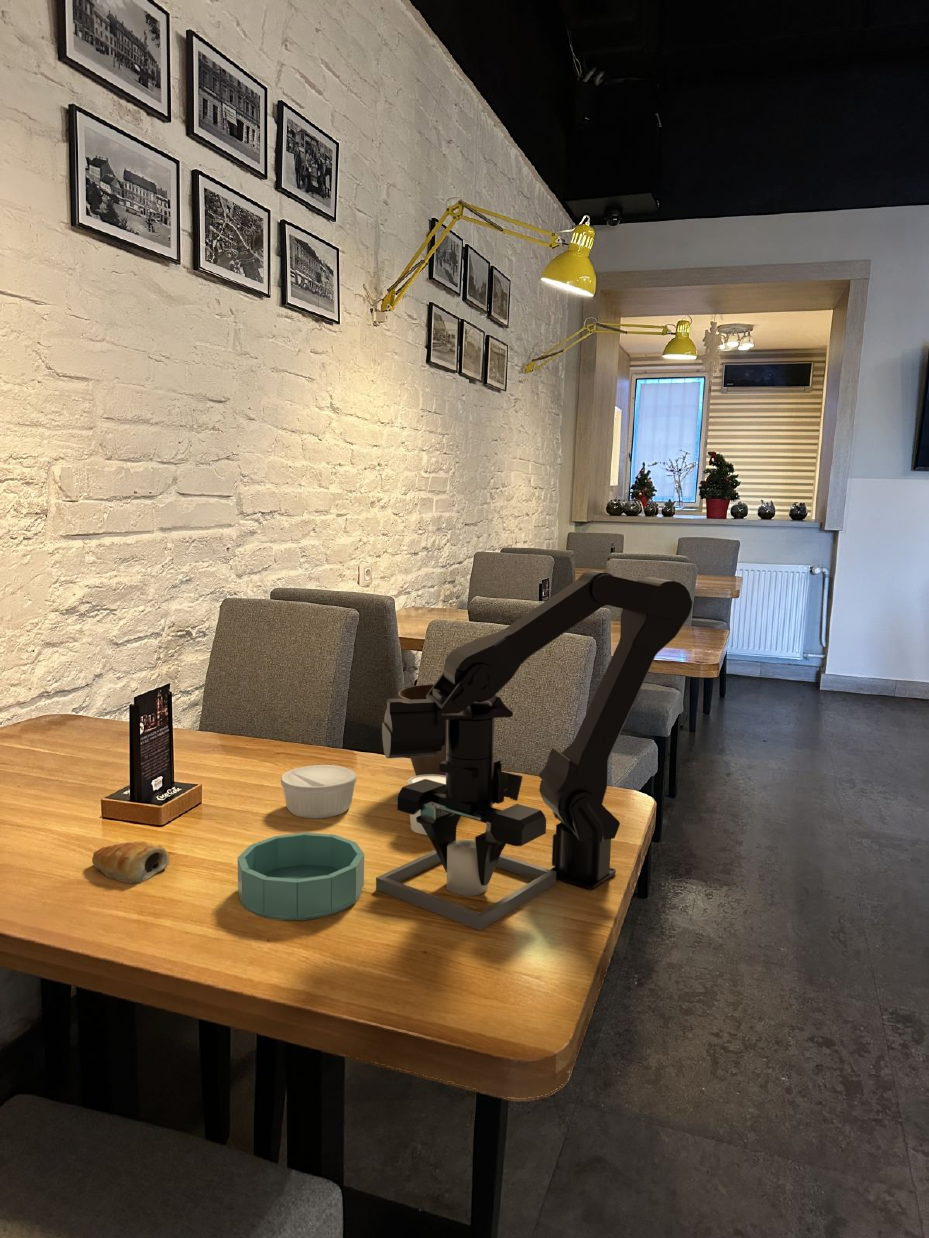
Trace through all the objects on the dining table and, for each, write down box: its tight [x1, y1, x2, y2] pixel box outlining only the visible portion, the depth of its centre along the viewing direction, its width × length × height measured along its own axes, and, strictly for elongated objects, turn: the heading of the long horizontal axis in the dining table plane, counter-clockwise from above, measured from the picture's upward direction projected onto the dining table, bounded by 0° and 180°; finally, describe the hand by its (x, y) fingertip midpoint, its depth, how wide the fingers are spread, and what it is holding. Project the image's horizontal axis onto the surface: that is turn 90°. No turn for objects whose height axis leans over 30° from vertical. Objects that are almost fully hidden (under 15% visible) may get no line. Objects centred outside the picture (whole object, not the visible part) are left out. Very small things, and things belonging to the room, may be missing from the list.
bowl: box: [237, 832, 365, 922], centre depth 100 cm, size 14×14×4 cm
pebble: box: [446, 838, 489, 897], centre depth 102 cm, size 5×5×5 cm
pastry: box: [91, 840, 170, 884], centre depth 105 cm, size 9×7×4 cm
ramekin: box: [280, 764, 357, 819], centre depth 128 cm, size 11×11×5 cm
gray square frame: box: [375, 849, 557, 931], centre depth 102 cm, size 16×16×2 cm
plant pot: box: [398, 683, 447, 776], centre depth 138 cm, size 15×15×16 cm
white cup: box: [406, 774, 446, 836], centre depth 121 cm, size 7×7×7 cm
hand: (467, 878), depth 102 cm, fingers closed on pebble, 5 cm apart
